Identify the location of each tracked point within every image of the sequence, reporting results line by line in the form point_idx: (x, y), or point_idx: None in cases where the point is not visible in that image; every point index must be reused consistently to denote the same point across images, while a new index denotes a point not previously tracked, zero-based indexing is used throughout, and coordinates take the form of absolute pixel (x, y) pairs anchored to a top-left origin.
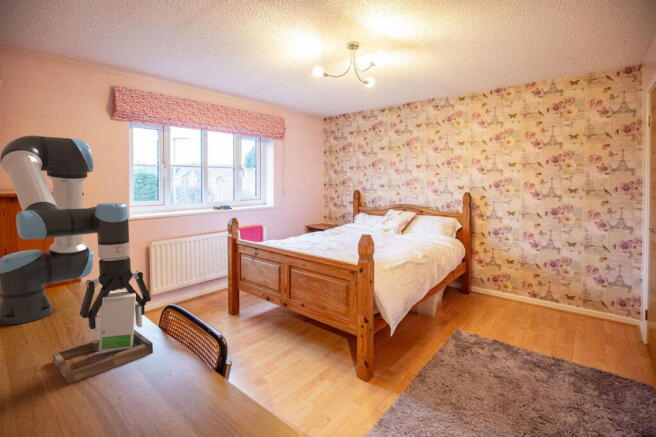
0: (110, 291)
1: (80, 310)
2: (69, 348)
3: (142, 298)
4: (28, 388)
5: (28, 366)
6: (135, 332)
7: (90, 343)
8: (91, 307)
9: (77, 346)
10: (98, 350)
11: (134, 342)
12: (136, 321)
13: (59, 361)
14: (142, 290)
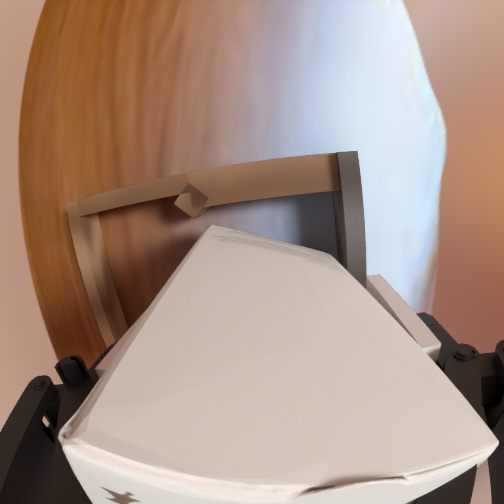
0: (164, 498)
1: (21, 396)
2: (103, 199)
3: (485, 378)
4: (64, 316)
5: (45, 191)
6: (355, 235)
7: (168, 195)
8: (61, 417)
9: (125, 200)
10: (203, 213)
11: (336, 234)
12: (374, 297)
13: (87, 290)
14: (494, 479)
